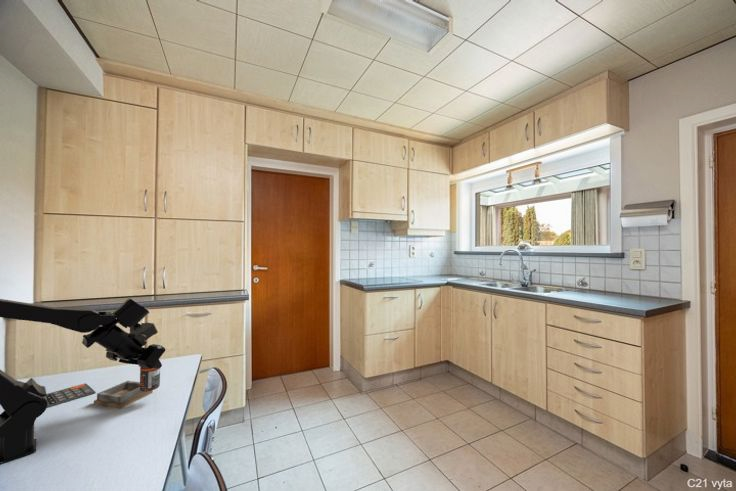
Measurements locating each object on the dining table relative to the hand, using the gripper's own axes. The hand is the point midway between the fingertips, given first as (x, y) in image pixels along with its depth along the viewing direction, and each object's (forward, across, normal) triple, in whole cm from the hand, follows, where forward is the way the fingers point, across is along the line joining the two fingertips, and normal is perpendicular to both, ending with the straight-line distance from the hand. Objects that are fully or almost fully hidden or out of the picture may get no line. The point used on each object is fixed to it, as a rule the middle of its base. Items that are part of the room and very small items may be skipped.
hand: (154, 365), depth 94 cm
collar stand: (+6, +10, +10) cm, 15 cm away
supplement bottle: (+4, 0, +6) cm, 7 cm away
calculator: (+2, +30, +15) cm, 34 cm away
